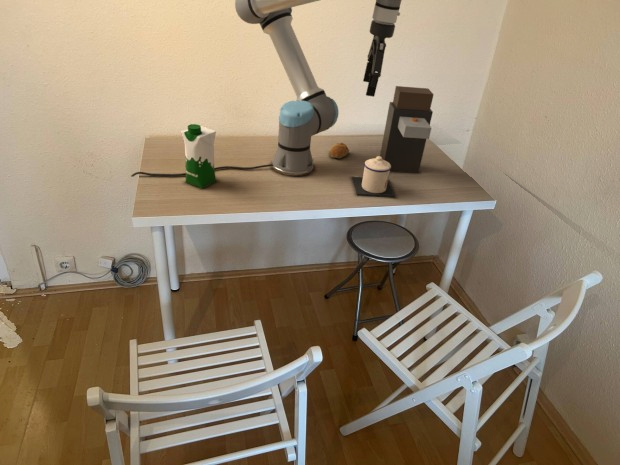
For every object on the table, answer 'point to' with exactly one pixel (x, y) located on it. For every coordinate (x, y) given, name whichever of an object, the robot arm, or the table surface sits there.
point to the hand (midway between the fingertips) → (368, 88)
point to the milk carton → (199, 155)
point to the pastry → (339, 150)
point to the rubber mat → (362, 192)
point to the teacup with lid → (376, 175)
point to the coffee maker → (407, 128)
